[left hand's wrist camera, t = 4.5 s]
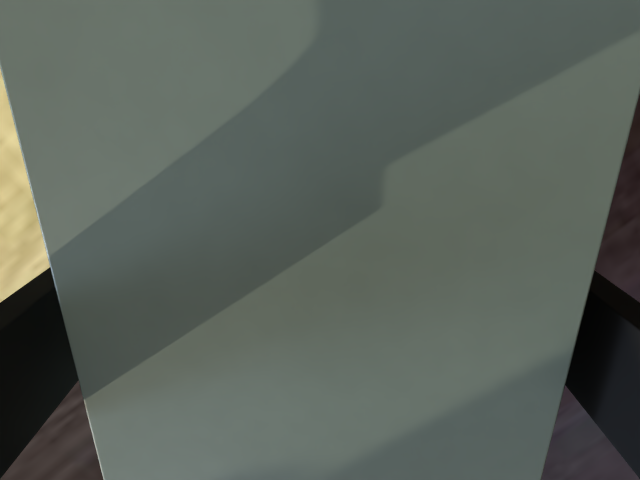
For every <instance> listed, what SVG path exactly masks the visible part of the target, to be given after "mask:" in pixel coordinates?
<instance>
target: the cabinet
mask: <svg viewBox="0 0 640 480" xmlns="http://www.w3.org/2000/svg"><path fill="white" fill-rule="evenodd" d="M0 68H1V72H2V76H3V80H4V84H5V88H6V92H7V96H8V100H9V104H10V108H11V112H12V116H13V120H14V124H15V128H16V132H17V136H18V140H19V144H20V148H21V152H22V156H23V160H24V164H25V168H26V172H27V176H28V180H29V184H30V188H31V192H32V196H33V200H34V204H35V208H36V212H37V215H38V219H39V223H40V227H41V231H42V235H43V239H44V243H45V247H46V251H47V255H48V259H49V263H50V267H51V271H52V275H53V279H54V283H55V287H56V291H57V295H58V299H59V303H60V307H61V311H62V315H63V319H64V323H65V327H66V331H67V335H68V339H69V343H70V347H71V351H72V355H73V359H74V363H75V367H76V371H77V375H78V379H79V383H80V387H81V391H82V395H83V399H84V403H85V407H86V411H87V415H88V419H89V423H90V427H91V431H92V435H93V439H94V443H95V447H96V451H97V455H98V459H99V463H100V467H101V471H102V475H103V479H104V480H541V477H542V473H543V469H544V465H545V461H546V457H547V453H548V449H549V445H550V442H551V438H552V434H553V430H554V426H555V422H556V418H557V414H558V410H559V406H560V402H561V399H562V395H563V391H564V387H565V383H566V379H567V375H568V371H569V367H570V363H571V359H572V356H573V352H574V348H575V344H576V340H577V336H578V332H579V328H580V324H581V320H582V316H583V313H584V309H585V305H586V301H587V297H588V293H589V289H590V285H591V281H592V277H593V274H594V270H595V266H596V262H597V258H598V254H599V250H600V246H601V242H602V238H603V234H604V231H605V227H606V223H607V219H608V215H609V211H610V207H611V203H612V199H613V195H614V191H615V188H616V184H617V180H618V176H619V172H620V168H621V164H622V160H623V156H624V152H625V148H626V145H627V141H628V137H629V133H630V129H631V125H632V121H633V117H634V113H635V109H636V105H637V102H638V98H639V94H640V0H0Z"/></svg>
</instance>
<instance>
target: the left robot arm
mask: <svg viewBox="0 0 640 480" xmlns="http://www.w3.org/2000/svg"><path fill="white" fill-rule="evenodd" d="M78 380H79V379H78V375H77V371H76V367H75V363H74V359H73V355H72V351H71V347H70V343H69V339H68V335H67V331H66V327H65V323H64V319H63V315H62V311H61V307H60V303H59V299H58V295H57V291H56V287H55V283H54V279H53V275H52V271H51V267H50V268H48V269H47V270H46V271H44V272H43V273H41V274H40V275H39V276H37V277H36V278H34V279H33V280H32V281H30V282H29V283H27V284H26V285H25V286H23V287H22V288H20V289H19V290H18V291H16V292H15V293H13V294H12V295H11V296H9V297H8V298H6V299H5V300H3V301H2V302H1V303H0V478H1V477H2V476H3V475H4V473H5V472H6V471H7V470H8V468H9V467H10V466H11V464H12V463H13V462H14V461H15V459H16V458H17V457H18V456H19V454H20V453H21V452H22V451H23V449H24V448H25V447H26V446H27V444H28V443H29V442H30V441H31V439H32V438H33V437H34V435H35V434H36V433H37V432H38V430H39V429H40V428H41V427H42V425H43V424H44V423H45V422H46V420H47V419H48V418H49V417H50V415H51V414H52V413H53V412H54V410H55V409H56V408H57V406H58V405H59V404H60V403H61V401H62V400H63V399H64V398H65V396H66V395H67V394H68V393H69V391H70V390H71V389H72V388H73V386H74V385H75V384H76V383H77V381H78ZM565 385H566V386H567V388H568V389H569V390H570V391H571V393H572V394H573V395H574V396H575V398H576V399H577V400H578V401H579V403H580V404H581V405H582V407H583V408H584V409H585V410H586V412H587V413H588V414H589V415H590V417H591V418H592V419H593V420H594V422H595V423H596V424H597V425H598V427H599V428H600V429H601V430H602V432H603V433H604V434H605V436H606V437H607V438H608V439H609V441H610V442H611V443H612V444H613V446H614V447H615V448H616V449H617V451H618V452H619V453H620V454H621V456H622V457H623V458H624V459H625V461H626V462H627V463H628V465H629V466H630V467H631V468H632V470H633V471H634V472H635V473H636V475H637V476H638V477H639V478H640V303H639V302H638V301H636V300H635V299H634V298H632V297H631V296H629V295H628V294H627V293H625V292H624V291H622V290H621V289H620V288H618V287H617V286H615V285H614V284H613V283H611V282H610V281H608V280H607V279H606V278H604V277H603V276H601V275H600V274H599V273H597V272H596V271H594V274H593V277H592V281H591V285H590V289H589V293H588V297H587V301H586V305H585V309H584V313H583V316H582V320H581V324H580V328H579V332H578V336H577V340H576V344H575V348H574V352H573V356H572V359H571V363H570V367H569V371H568V375H567V379H566V383H565Z"/></svg>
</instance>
